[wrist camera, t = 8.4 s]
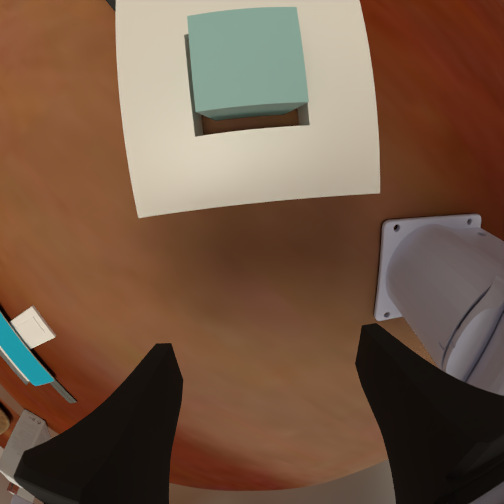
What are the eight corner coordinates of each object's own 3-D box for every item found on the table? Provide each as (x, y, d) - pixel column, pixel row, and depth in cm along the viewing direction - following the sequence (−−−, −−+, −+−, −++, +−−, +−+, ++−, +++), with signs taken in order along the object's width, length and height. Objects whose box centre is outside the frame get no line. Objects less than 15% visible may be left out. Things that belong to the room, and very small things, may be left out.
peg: (277, 52, 14) (296, 7, 8) (284, 114, 16) (308, 102, 9) (209, 58, 14) (187, 16, 8) (215, 120, 16) (195, 112, 9)
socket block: (338, -5, 12) (353, -24, 10) (360, 183, 17) (380, 193, 15) (133, 15, 13) (115, -1, 10) (154, 204, 18) (138, 218, 15)
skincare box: (23, 407, 28) (-7, 465, 17) (47, 421, 29) (19, 483, 17) (30, 425, 30) (5, 479, 19) (53, 438, 31) (30, 494, 20)
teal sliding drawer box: (110, 391, 25) (106, 402, 24) (54, 402, 27) (49, 411, 26) (-9, 227, 18) (-20, 234, 17) (-43, 275, 20) (-51, 281, 19)
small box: (27, 467, 42) (16, 494, 32) (42, 478, 44) (32, 505, 34) (16, 464, 43) (6, 489, 34) (30, 475, 45) (21, 500, 36)
